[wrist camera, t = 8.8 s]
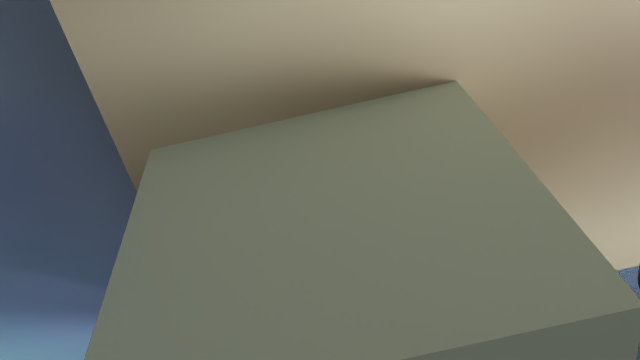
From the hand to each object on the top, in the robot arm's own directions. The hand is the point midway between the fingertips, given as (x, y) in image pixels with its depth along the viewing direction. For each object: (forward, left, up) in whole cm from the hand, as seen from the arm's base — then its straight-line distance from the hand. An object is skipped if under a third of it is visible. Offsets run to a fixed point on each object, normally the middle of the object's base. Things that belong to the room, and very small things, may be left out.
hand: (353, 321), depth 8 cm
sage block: (0, 0, -2) cm, 2 cm away
